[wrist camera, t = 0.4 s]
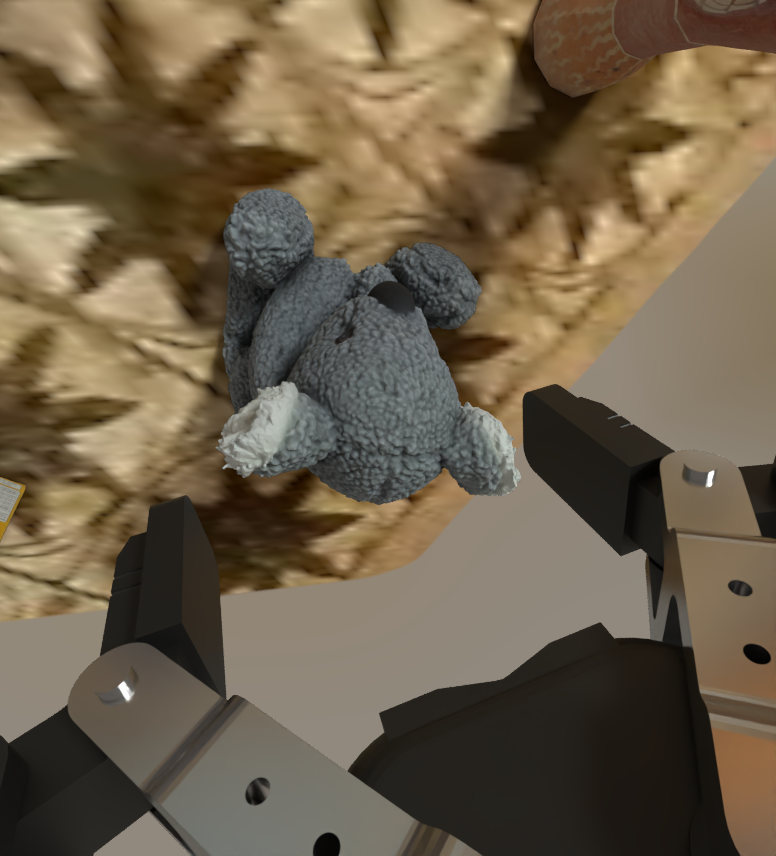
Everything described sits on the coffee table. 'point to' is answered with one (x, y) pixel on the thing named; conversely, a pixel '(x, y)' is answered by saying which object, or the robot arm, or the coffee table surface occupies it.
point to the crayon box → (8, 501)
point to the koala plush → (348, 363)
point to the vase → (639, 35)
